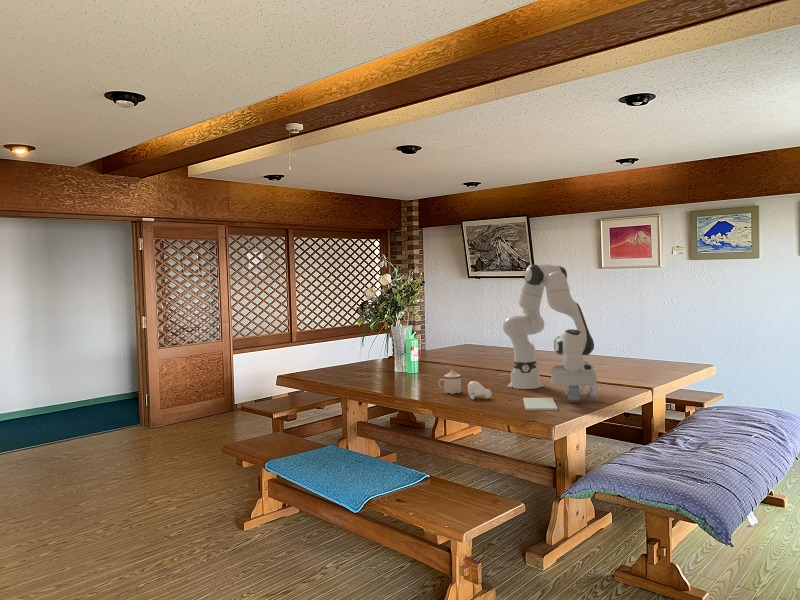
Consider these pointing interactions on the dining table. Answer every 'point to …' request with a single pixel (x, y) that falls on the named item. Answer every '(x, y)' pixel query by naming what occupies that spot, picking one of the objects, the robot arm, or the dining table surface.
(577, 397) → the slate blue block
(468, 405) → the dining table surface
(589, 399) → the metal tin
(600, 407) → the dining table surface
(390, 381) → the dining table surface
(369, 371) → the dining table surface
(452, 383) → the teacup with lid
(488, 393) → the white figurine
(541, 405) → the sage board
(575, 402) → the walnut block
